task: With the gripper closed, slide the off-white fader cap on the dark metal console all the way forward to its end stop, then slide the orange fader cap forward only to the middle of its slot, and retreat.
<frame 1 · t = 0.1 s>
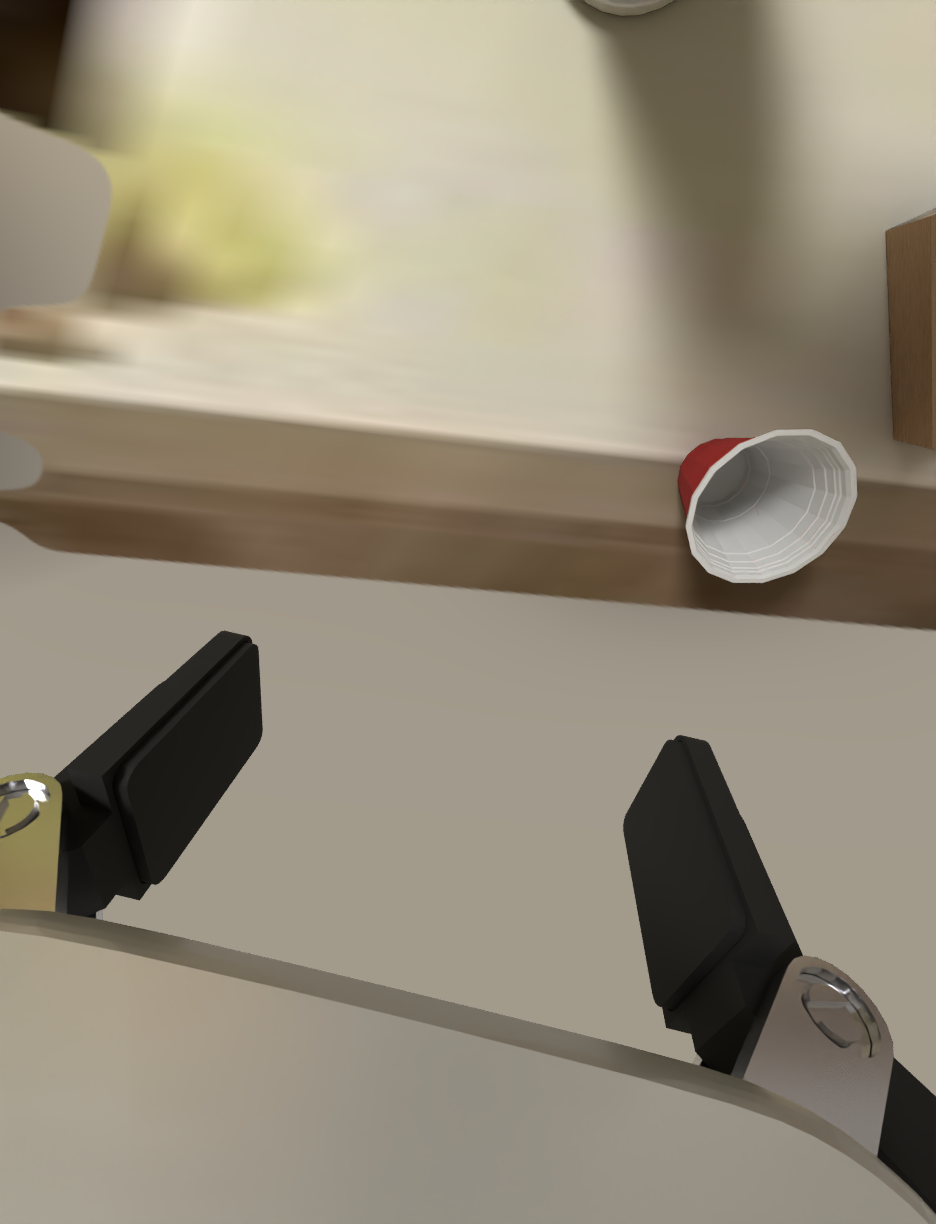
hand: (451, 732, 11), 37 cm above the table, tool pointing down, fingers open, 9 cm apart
plastic cup: (713, 472, 42), on the table
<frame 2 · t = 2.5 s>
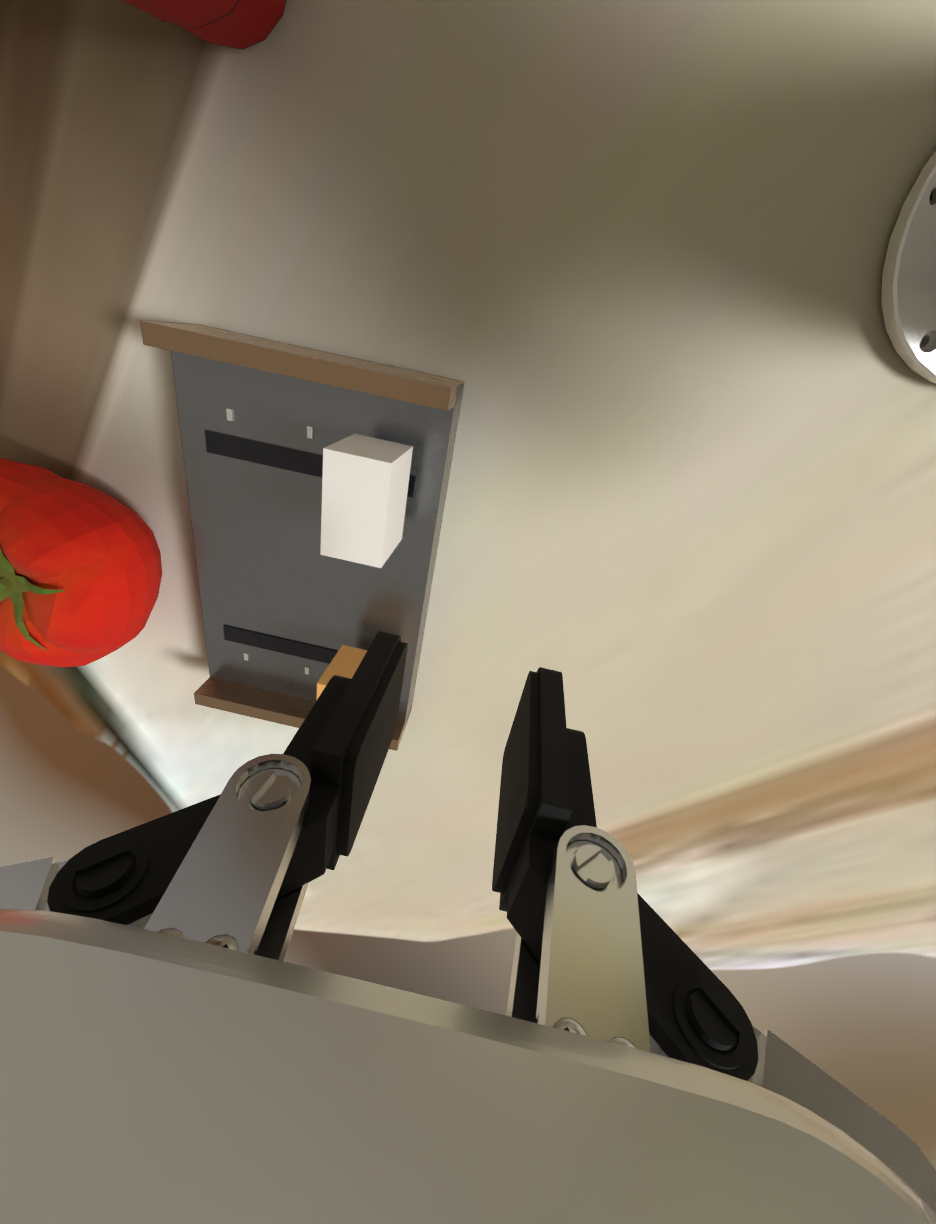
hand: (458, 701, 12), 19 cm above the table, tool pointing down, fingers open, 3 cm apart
orange fader: (355, 692, 30), point 5 cm above the table, slide at 0.0 cm
white fader: (371, 495, 24), point 6 cm above the table, slide at 0.0 cm
console: (324, 552, 32), on the table
tomato: (112, 539, 34), on the table
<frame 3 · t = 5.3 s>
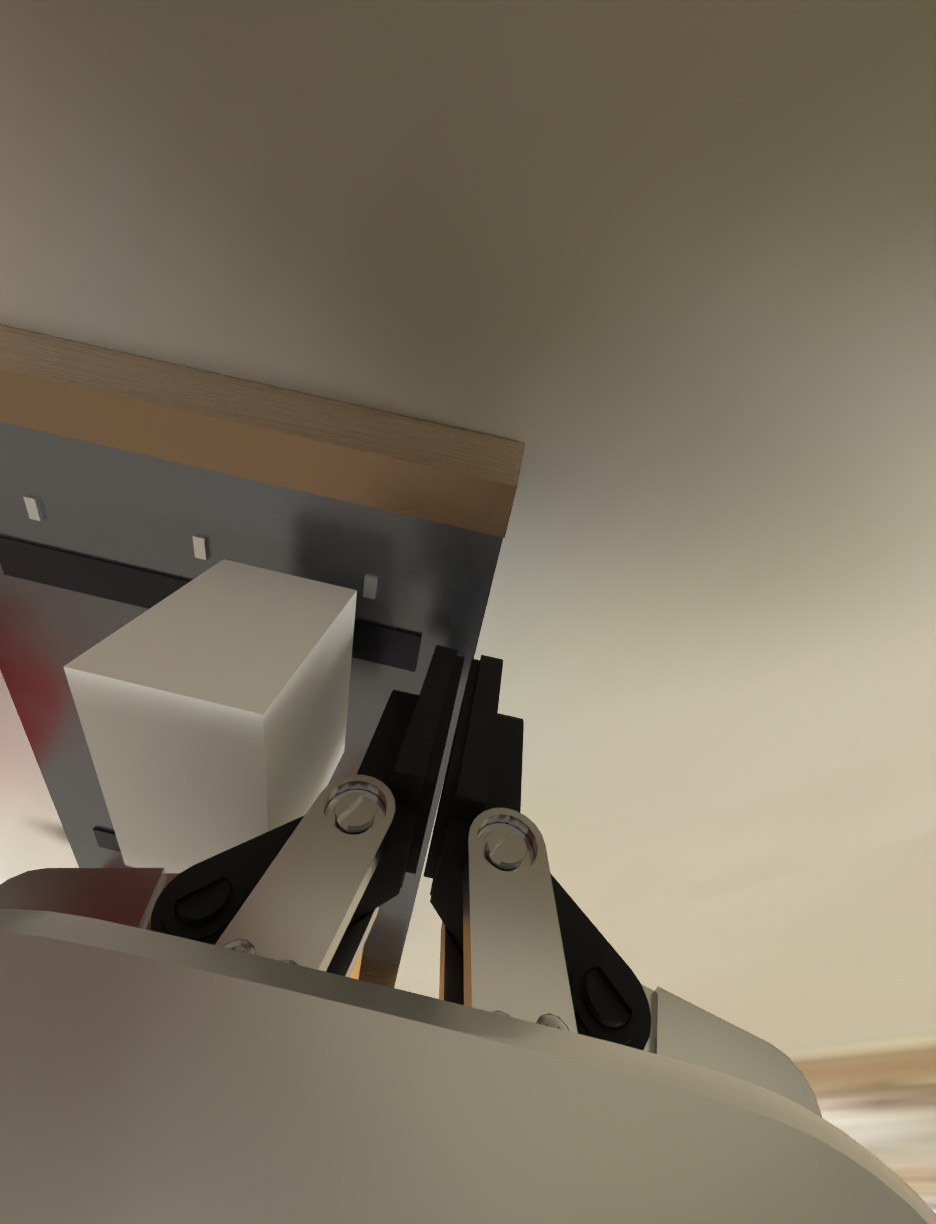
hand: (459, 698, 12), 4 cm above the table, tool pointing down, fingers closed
orange fader: (310, 980, 17), point 5 cm above the table, slide at 0.0 cm
white fader: (263, 699, 10), point 5 cm above the table, slide at 1.3 cm, touching gripper
console: (261, 714, 18), on the table
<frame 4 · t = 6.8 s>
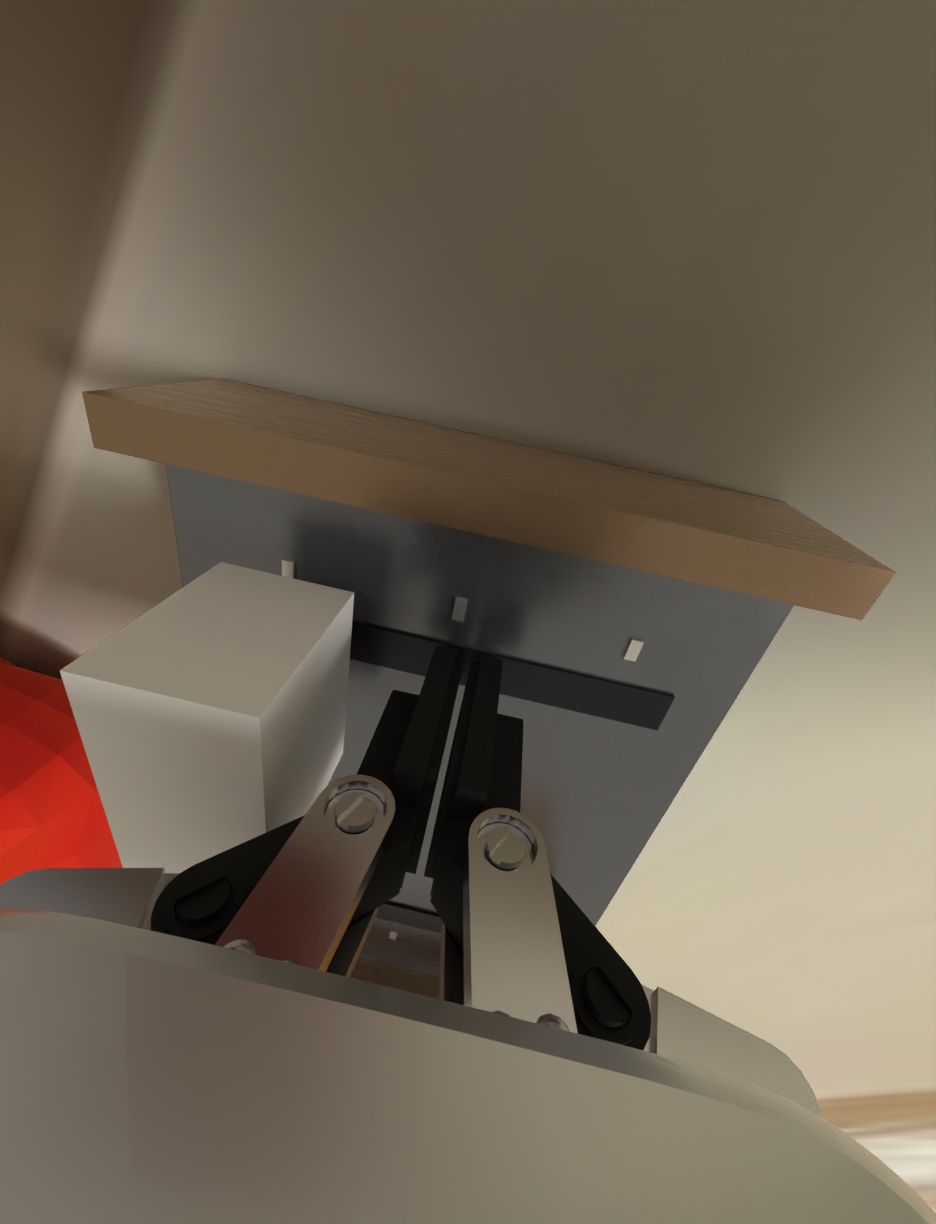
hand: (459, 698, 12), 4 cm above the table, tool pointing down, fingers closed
white fader: (261, 702, 10), point 5 cm above the table, slide at 8.2 cm, touching gripper
console: (432, 757, 18), on the table
tomato: (70, 714, 20), on the table
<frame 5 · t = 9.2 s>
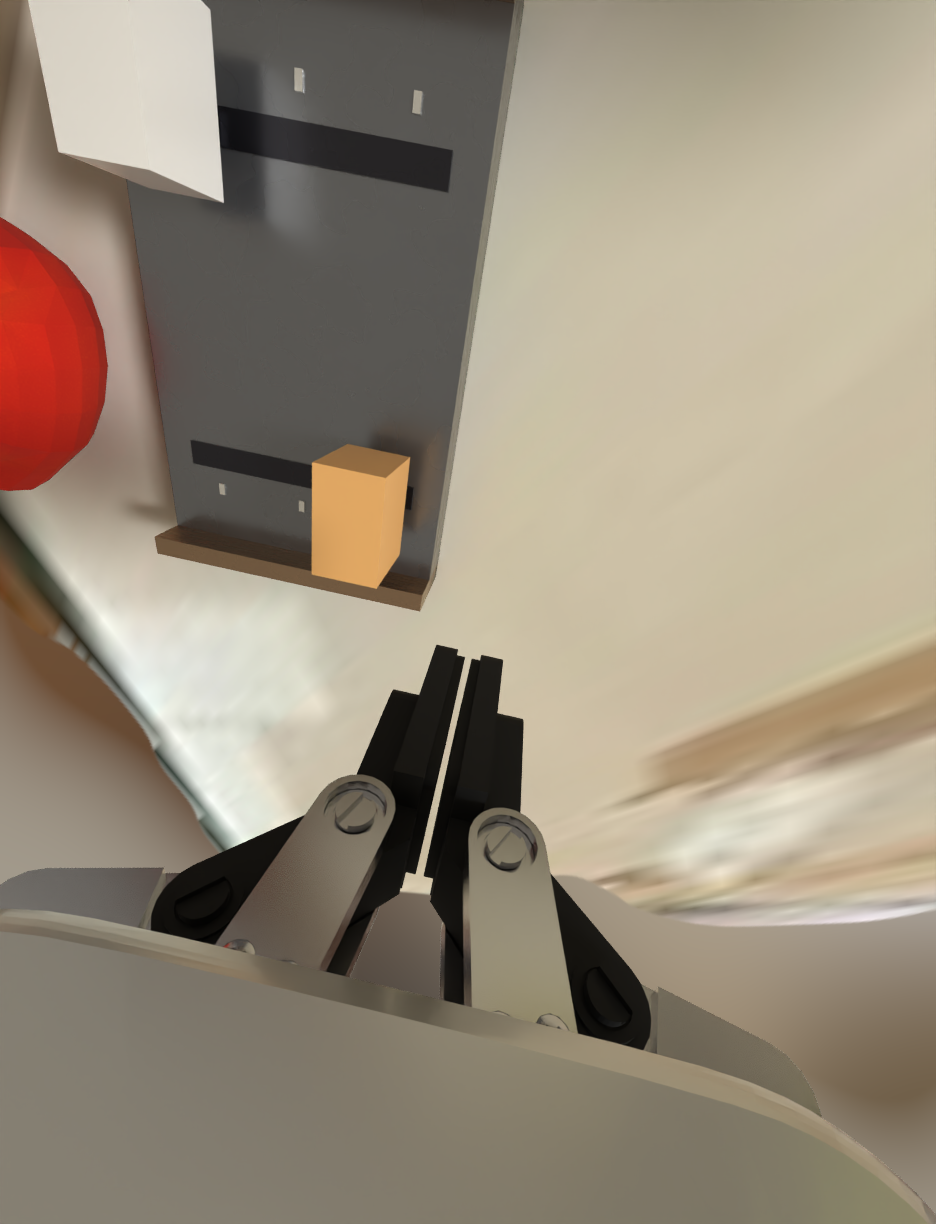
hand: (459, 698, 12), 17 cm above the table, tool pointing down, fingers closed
orange fader: (366, 510, 22), point 5 cm above the table, slide at 0.0 cm
white fader: (151, 88, 16), point 6 cm above the table, slide at 8.3 cm
console: (322, 335, 24), on the table
tomato: (48, 336, 26), on the table
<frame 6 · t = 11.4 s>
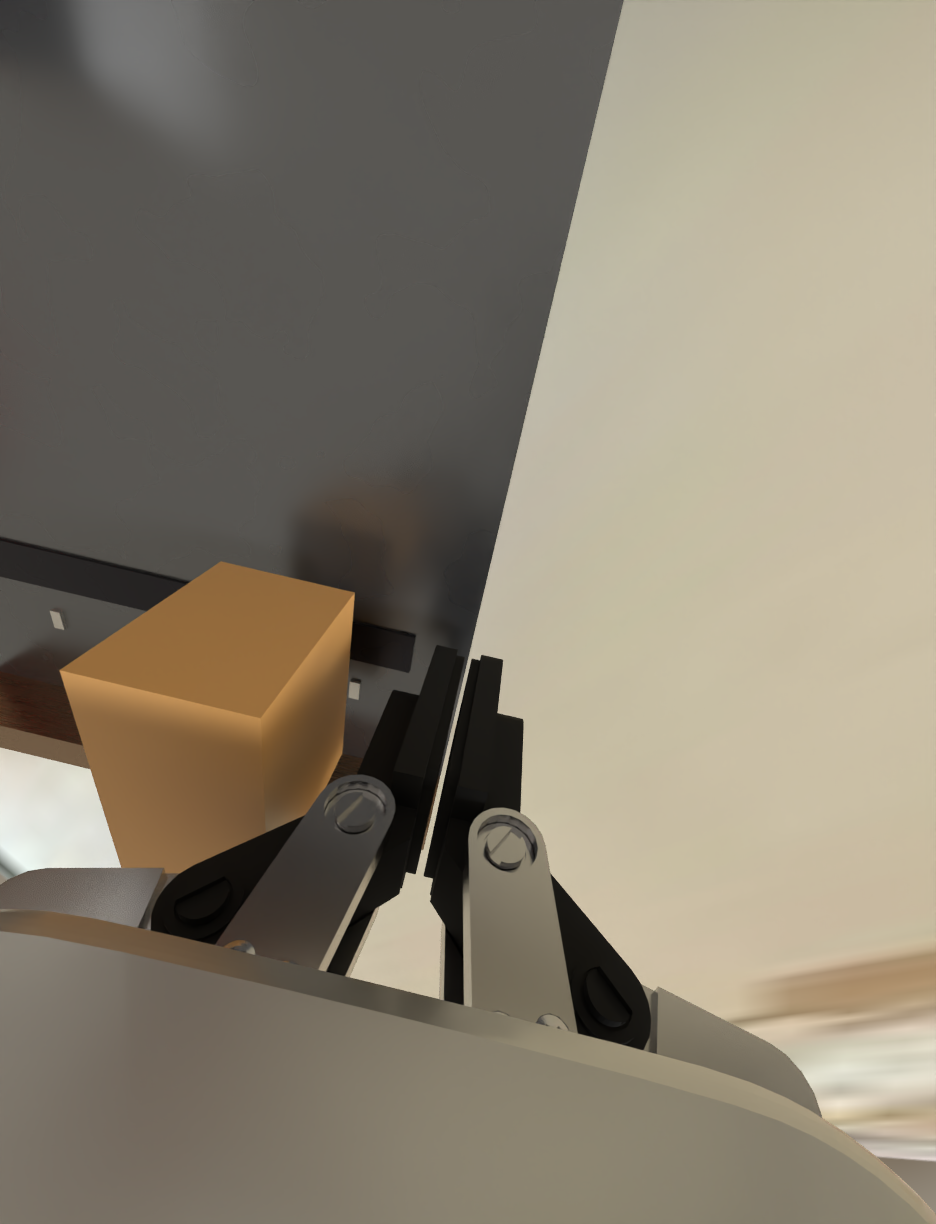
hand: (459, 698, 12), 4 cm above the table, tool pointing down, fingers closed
orange fader: (260, 702, 10), point 6 cm above the table, slide at 1.2 cm, touching gripper
console: (237, 337, 12), on the table
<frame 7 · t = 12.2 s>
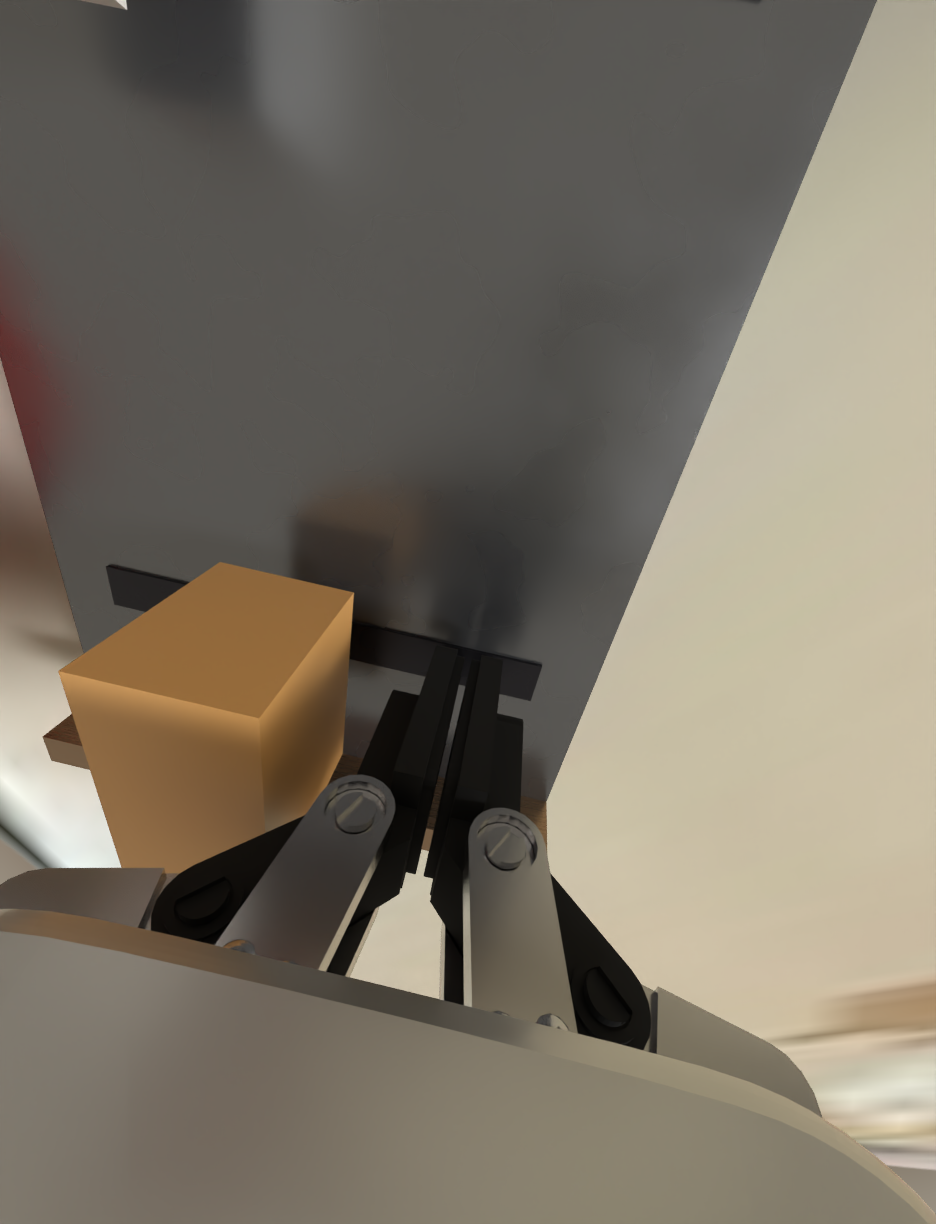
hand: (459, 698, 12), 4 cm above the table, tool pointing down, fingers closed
orange fader: (260, 702, 10), point 5 cm above the table, slide at 4.7 cm, touching gripper
console: (369, 367, 12), on the table
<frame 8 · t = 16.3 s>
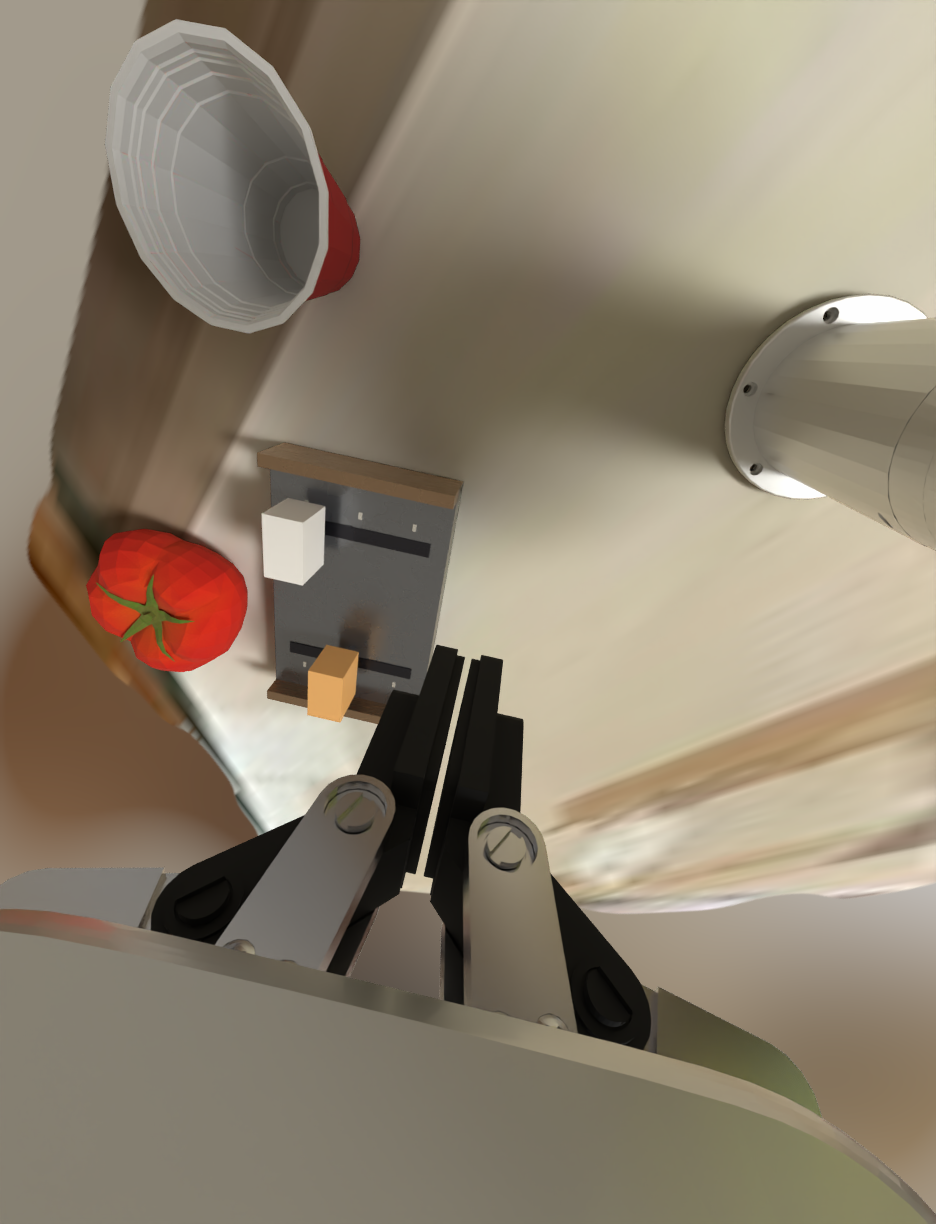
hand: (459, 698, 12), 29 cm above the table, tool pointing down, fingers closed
orange fader: (336, 678, 43), point 6 cm above the table, slide at 4.8 cm
white fader: (299, 537, 37), point 6 cm above the table, slide at 8.3 cm
console: (363, 590, 44), on the table
plastic cup: (319, 245, 32), on the table
tomato: (207, 578, 46), on the table
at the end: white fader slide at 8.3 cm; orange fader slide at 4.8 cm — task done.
